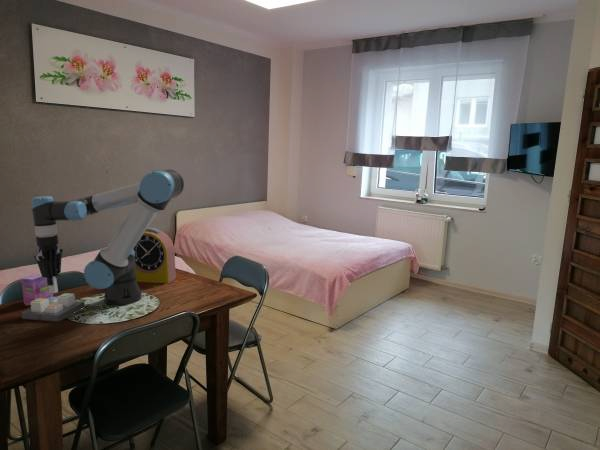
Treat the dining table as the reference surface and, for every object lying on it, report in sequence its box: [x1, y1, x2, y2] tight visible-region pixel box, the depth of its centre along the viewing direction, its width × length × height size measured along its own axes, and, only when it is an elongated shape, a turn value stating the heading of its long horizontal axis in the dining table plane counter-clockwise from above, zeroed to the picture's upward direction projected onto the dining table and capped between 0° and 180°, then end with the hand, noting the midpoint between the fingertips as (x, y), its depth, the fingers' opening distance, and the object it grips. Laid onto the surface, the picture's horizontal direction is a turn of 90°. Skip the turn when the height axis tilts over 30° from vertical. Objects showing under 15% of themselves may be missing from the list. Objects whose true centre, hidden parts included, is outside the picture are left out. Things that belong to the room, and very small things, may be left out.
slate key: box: [48, 296, 58, 305], centre depth 175 cm, size 4×4×4 cm
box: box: [20, 271, 54, 306], centre depth 184 cm, size 10×6×12 cm, turn 168°
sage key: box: [56, 292, 76, 307], centre depth 174 cm, size 4×4×4 cm
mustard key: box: [30, 298, 49, 312], centre depth 168 cm, size 4×4×4 cm
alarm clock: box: [134, 227, 177, 284], centre depth 214 cm, size 21×9×26 cm, turn 80°
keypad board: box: [21, 300, 86, 323], centre depth 172 cm, size 16×15×2 cm
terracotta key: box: [44, 303, 63, 313], centre depth 168 cm, size 4×4×4 cm
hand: (53, 292), depth 175 cm, fingers closed
